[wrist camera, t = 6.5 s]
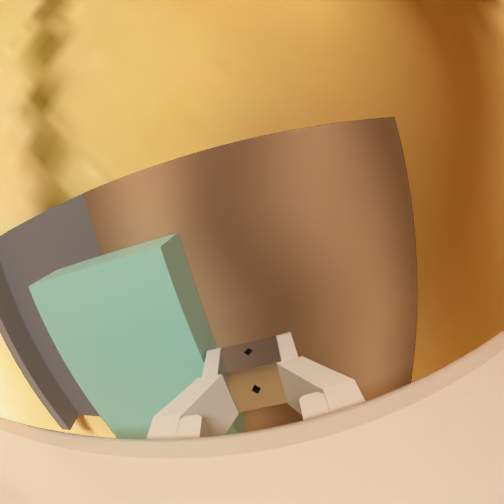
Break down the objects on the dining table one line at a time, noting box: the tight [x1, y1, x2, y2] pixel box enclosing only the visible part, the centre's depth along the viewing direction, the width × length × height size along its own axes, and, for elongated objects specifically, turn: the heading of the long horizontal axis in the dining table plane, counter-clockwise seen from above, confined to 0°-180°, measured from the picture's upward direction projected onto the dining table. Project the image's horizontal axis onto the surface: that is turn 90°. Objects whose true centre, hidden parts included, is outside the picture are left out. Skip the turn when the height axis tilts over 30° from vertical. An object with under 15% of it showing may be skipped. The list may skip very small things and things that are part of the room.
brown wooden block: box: [84, 117, 417, 432], centre depth 12 cm, size 12×14×4 cm
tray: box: [0, 194, 102, 430], centre depth 14 cm, size 12×15×2 cm
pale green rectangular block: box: [28, 233, 245, 439], centre depth 10 cm, size 6×9×2 cm, turn 14°
